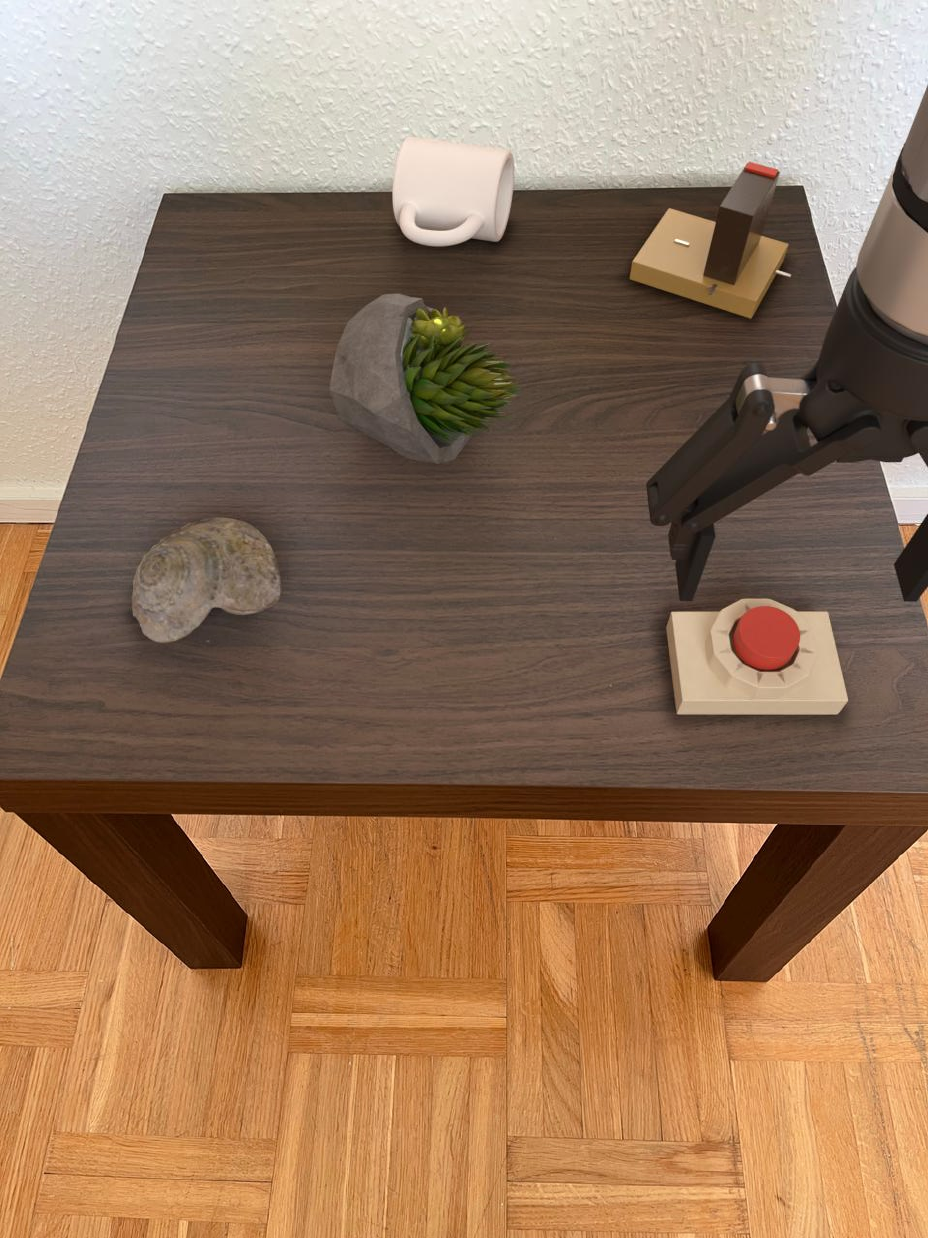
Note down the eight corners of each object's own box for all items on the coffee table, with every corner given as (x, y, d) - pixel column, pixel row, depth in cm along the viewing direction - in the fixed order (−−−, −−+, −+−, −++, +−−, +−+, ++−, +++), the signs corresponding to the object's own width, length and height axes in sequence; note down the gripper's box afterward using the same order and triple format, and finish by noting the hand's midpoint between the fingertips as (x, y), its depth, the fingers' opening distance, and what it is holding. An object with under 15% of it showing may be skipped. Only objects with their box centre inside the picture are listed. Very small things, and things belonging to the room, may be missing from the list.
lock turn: (734, 285, 82) (754, 213, 76) (702, 275, 83) (720, 203, 77) (759, 241, 85) (781, 168, 79) (729, 232, 86) (748, 159, 80)
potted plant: (396, 311, 79) (557, 313, 73) (383, 460, 81) (538, 475, 75) (314, 277, 69) (493, 276, 62) (300, 449, 71) (473, 465, 64)
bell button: (787, 618, 62) (794, 605, 61) (797, 670, 60) (805, 657, 59) (728, 619, 62) (734, 605, 61) (736, 670, 60) (743, 658, 59)
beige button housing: (818, 627, 66) (836, 597, 63) (837, 714, 62) (858, 688, 59) (665, 627, 66) (675, 597, 63) (676, 714, 63) (687, 688, 59)
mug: (419, 195, 93) (414, 118, 87) (513, 209, 92) (516, 132, 85) (382, 269, 88) (374, 193, 81) (483, 286, 86) (483, 210, 79)
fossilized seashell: (180, 506, 71) (173, 473, 64) (304, 567, 72) (310, 540, 65) (110, 626, 68) (96, 604, 61) (241, 687, 69) (241, 672, 62)
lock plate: (803, 260, 87) (809, 240, 85) (764, 332, 82) (770, 312, 80) (669, 219, 91) (673, 199, 89) (624, 286, 86) (627, 266, 84)
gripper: (1218, 230, 39) (983, 532, 57) (632, 234, 39) (586, 532, 57) (1300, 355, 35) (1019, 636, 53) (647, 357, 35) (592, 635, 54)
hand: (793, 582), depth 55 cm, fingers open, 13 cm apart
